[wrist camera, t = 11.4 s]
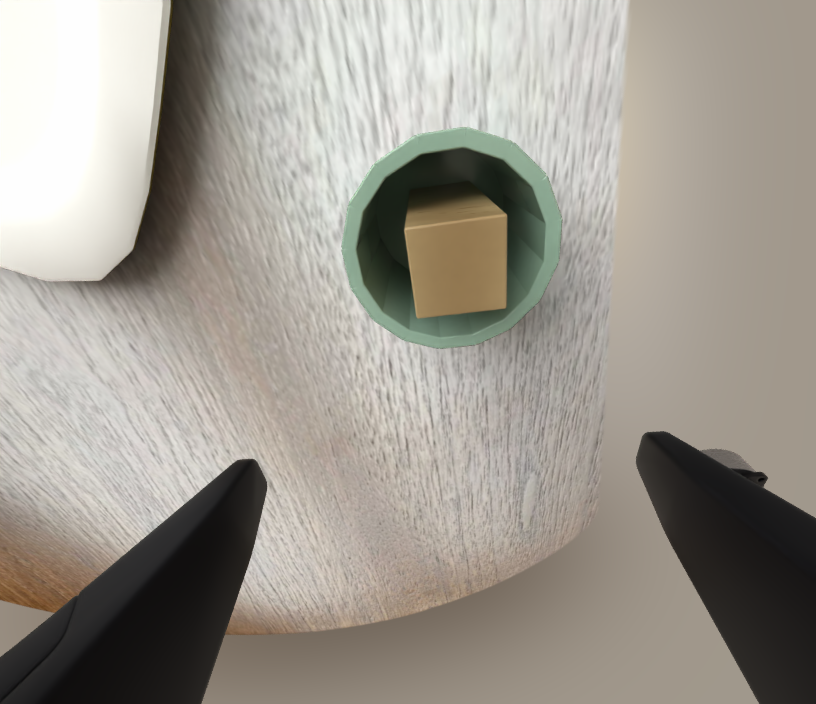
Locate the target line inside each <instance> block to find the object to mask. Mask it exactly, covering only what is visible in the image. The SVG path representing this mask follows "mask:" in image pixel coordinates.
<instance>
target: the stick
mask: <svg viewBox="0 0 816 704" xmlns="http://www.w3.org/2000/svg"><path fill="white" fill-rule="evenodd" d="M404 233H405V240H406V247H407V254H408V261H409V268H410V276H411V283H412V290H413V297H414V304H415V311H416V317H417V318H419V319H420V318H428V317H437V316H446V315H454V314H463V313H472V312H481V311H489V310H498V309H505V308H506V307H507V214H506V213H505V212H503V211H502V210H501V209H500V208H499V207H498V206H497V205H496V204H495V203H493V202H492V201H491V200H490V199H489V198H488V197H487V196H486V195H485V194H483V193H482V192H481V191H480V190H479V189H478V188H477V187H476V186H475V185H473V184H472V183H471V182H470V181H465V182H458V183H451V184H444V185H438V186H431V187H424V188H417V189H411V190H410V192H409V200H408V207H407V214H406V221H405V228H404Z"/></svg>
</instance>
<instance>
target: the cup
mask: <svg viewBox="0 0 816 704" xmlns="http://www.w3.org/2000/svg"><path fill="white" fill-rule="evenodd" d="M465 181H470V182H471V183H472V184H473V185H475V186H476V187H477V188H478V189H479V190H480V191H481V192H482V193H483V194H485V195H486V196H487V197H488V198H489V199H490V200H491V201H492V202H493V203H495V204H496V205H497V206H498V207H499V208H500V209H501V210H502V211H503V212H505V213H506V214H507V307H506V308H505V309H498V310H489V311H481V312H472V313H463V314H454V315H446V316H437V317H428V318H420V319H419V318H417V317H416V311H415V304H414V297H413V290H412V283H411V276H410V268H409V261H408V254H407V247H406V240H405V233H404V228H405V221H406V214H407V207H408V200H409V192H410V190H411V189H417V188H424V187H431V186H438V185H444V184H451V183H458V182H465ZM561 218H562V216H561V213H560V210H559V207H558V204H557V201H556V199H555V196H554V193H553V190H552V187H551V184H550V181H549V178H548V176H546V173H545V172H544V171H543V170H542V169H541V168H540V167H539V166H538V165H537V164H536V163H535V162H534V161H533V160H532V159H531V158H530V157H529V156H528V155H527V154H526V153H525V152H524V151H523V150H522V149H521V148H520V147H519V146H518V145H516V144H515V143H514V142H512V141H511V140H508V139H504V138H501V137H498V136H495V135H492V134H488V133H485V132H482V131H479V130H476V129H472V128H469V127H460V128H453V129H447V130H441V131H435V132H429V133H423V134H417V135H415V136H413V137H411V138H410V139H408V140H407V141H406V142H404V143H403V144H401V145H400V146H398V147H397V148H395V149H394V150H392V151H391V152H389V153H388V154H387V155H385V156H384V157H382V158H381V159H379V160H378V161H376V162H375V164H374V165H372V167H371V169H370V170H369V172H368V173H367V175H366V177H365V178H364V180H363V181H362V183H361V185H360V186H359V188H358V189H357V191H356V193H355V194H354V196H353V197H352V199H351V201H350V202H349V205H348V209H347V215H346V221H345V227H344V234H343V240H342V246H341V247H342V254H343V259H344V263H345V267H346V271H347V276H348V280H349V284H350V287H351V290H352V291H353V293H354V294H355V296H356V297H357V298H358V300H359V301H360V303H361V304H362V305H363V307H364V308H365V310H366V311H367V313H368V314H369V315H370V317H371V318H372V319H373V320H374V321H375V322H376V323H378V324H379V325H381V326H382V327H384V328H385V329H387V330H388V331H390V332H391V333H393V334H394V335H396V336H397V337H399V338H400V339H402V340H404V341H407V342H412V343H416V344H420V345H424V346H428V347H433V348H437V349H439V348H440V349H444V348H453V347H463V346H472V345H477V344H479V343H482V342H484V341H486V340H488V339H490V338H492V337H494V336H497V335H499V334H501V333H503V332H505V331H507V330H509V329H510V328H512V327H513V326H514V325H515V324H516V323H517V322H519V321H520V320H521V319H522V318H523V317H524V316H525V315H526V314H527V313H528V312H529V311H530V310H531V309H532V308H533V307H534V306H535V305H536V304H537V303H538V302H539V300H541V298H542V296H543V294H544V292H545V290H546V288H547V286H548V283H549V281H550V279H551V277H552V275H553V273H554V271H555V269H556V267H557V265H558V262H559V255H560V243H561V231H562V219H561Z"/></svg>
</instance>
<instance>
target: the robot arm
mask: <svg viewBox="0 0 816 704" xmlns="http://www.w3.org/2000/svg"><path fill="white" fill-rule="evenodd" d="M636 464H637V468H638V471H639V473H640V476H641V478H642V480H643V483H644V485H645V487H646V489H647V492H648V494H649V496H650V499H651V501H652V504H653V506H654V508H655V511H656V513H657V515H658V518H659V520H660V522H661V525H662V527H663V529H664V531H665V533H666V535H667V537H668V539H669V541H670V543H671V545H672V547H673V549H674V550H675V552H676V554H677V556H678V558H679V559H680V562H681V563H682V565H683V567H684V569H685V571H686V572H687V574H688V576H689V578H690V579H691V581H692V583H693V585H694V587H695V589H696V590H697V592H698V594H699V596H700V598H701V599H702V601H703V603H704V605H705V607H706V608H707V610H708V612H709V614H710V616H711V618H712V619H713V621H714V623H715V625H716V627H717V628H718V630H719V632H720V634H721V636H722V637H723V639H724V641H725V643H726V644H727V646H728V648H729V650H730V652H731V654H732V655H733V657H734V659H735V661H736V663H737V664H738V666H739V668H740V670H741V671H742V673H743V675H744V677H745V679H746V681H747V682H748V684H749V686H750V688H751V690H752V691H753V693H754V695H755V697H756V699H757V701H758V702H759V704H816V518H815V517H813V516H811V515H809V514H808V513H806V512H804V511H803V510H801V509H799V508H797V507H796V506H794V505H792V504H790V503H789V502H787V501H785V500H784V499H782V498H780V497H778V496H777V495H775V494H773V493H771V492H770V491H768V490H766V489H765V488H763V486H764V484H765V483H766V481H767V479H768V477H767V476H766V475H765V474H764V473H762V472H751V473H737V472H735V471H734V470H732V469H730V468H728V467H727V466H725V465H723V464H721V463H720V462H718V461H716V460H715V459H713V458H711V457H709V456H708V455H706V454H704V453H702V452H701V451H699V450H697V449H696V448H694V447H692V446H690V445H688V444H687V443H685V442H683V441H682V440H680V439H678V438H676V437H675V436H673V435H671V434H670V433H667V432H664V431H660V432H647V433H645V434H644V435H643V436H642V439H641V443H640V447H639V450H638V453H637V457H636ZM266 492H267V481H266V479H265V477H264V475H263V473H262V471H261V468H260V466H259V464H258V462H257V461H256V460H254V459H242V460H237V461H236V462H234V463H233V464H232V465H231V466H230V467H228V468H227V469H226V470H225V471H224V472H222V473H221V474H220V475H219V476H218V477H216V478H215V479H214V480H213V481H212V482H210V483H209V484H208V485H207V486H206V487H205V488H203V489H202V490H201V491H200V492H199V493H197V494H196V495H195V496H194V497H193V498H191V499H190V500H189V501H188V502H187V503H185V504H184V505H183V506H182V507H181V508H180V509H178V510H177V511H176V512H175V513H174V514H172V515H171V516H170V517H169V518H168V519H166V520H165V521H164V522H163V523H162V524H160V525H159V526H158V527H157V528H156V529H155V530H153V531H152V532H151V533H150V534H149V535H147V536H146V537H145V538H144V539H143V540H141V541H140V542H139V543H138V544H137V545H135V546H134V547H133V548H132V549H131V550H130V551H128V552H127V553H126V554H125V555H124V556H122V557H121V558H120V559H119V560H118V561H116V562H115V563H114V564H113V565H112V566H110V567H109V568H108V569H107V570H106V571H104V572H103V573H102V574H101V575H100V576H99V577H97V578H96V579H95V580H94V581H93V582H91V583H90V584H89V585H88V586H87V587H85V588H84V589H83V590H82V591H81V592H80V593H79V596H75V597H73V598H72V599H71V600H70V601H69V602H67V603H66V604H65V605H64V606H63V607H62V608H60V609H59V610H58V611H57V612H56V613H54V614H53V615H52V616H51V617H50V618H48V619H47V620H46V621H45V622H43V623H42V624H41V625H40V626H39V627H38V628H36V629H35V630H34V631H32V632H31V633H30V634H29V635H28V636H26V637H25V638H24V639H23V640H21V641H20V642H19V643H18V644H17V645H15V646H14V647H13V648H12V649H10V650H9V651H8V652H6V653H5V654H4V655H3V656H1V657H0V704H201V703H202V700H203V697H204V694H205V691H206V688H207V685H208V682H209V679H210V676H211V674H212V671H213V667H214V665H215V662H216V659H217V656H218V653H219V650H220V647H221V644H222V641H223V638H224V635H225V632H226V629H227V626H228V623H229V620H230V617H231V615H232V612H233V609H234V606H235V603H236V600H237V597H238V594H239V591H240V588H241V585H242V582H243V579H244V576H245V573H246V570H247V567H248V564H249V561H250V558H251V555H252V551H253V548H254V544H255V540H256V535H257V531H258V527H259V522H260V518H261V514H262V509H263V505H264V501H265V497H266Z"/></svg>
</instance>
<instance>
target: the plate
mask: <svg viewBox="0 0 816 704" xmlns="http://www.w3.org/2000/svg"><path fill="white" fill-rule="evenodd" d="M172 13H173V0H0V267H1V268H5V269H8V270H11V271H15V272H18V273H21V274H24V275H28V276H31V277H34V278H38V279H41V280H44V281H101V280H103V279H104V278H105V277H106V276H107V275H108V274H109V273H110V272H111V271H112V270H113V269H114V268H115V267H116V266H117V265H119V264H120V263H121V262H122V261H123V260H124V259H125V258H126V257H127V256H128V255H129V254H130V253H131V252H132V251H133V250H134V249H135V247H136V243H137V240H138V236H139V232H140V229H141V225H142V222H143V218H144V214H145V211H146V207H147V204H148V200H149V196H150V193H151V188H152V181H153V174H154V166H155V159H156V152H157V144H158V137H159V130H160V122H161V115H162V107H163V97H164V88H165V79H166V69H167V60H168V51H169V41H170V32H171V23H172Z"/></svg>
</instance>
